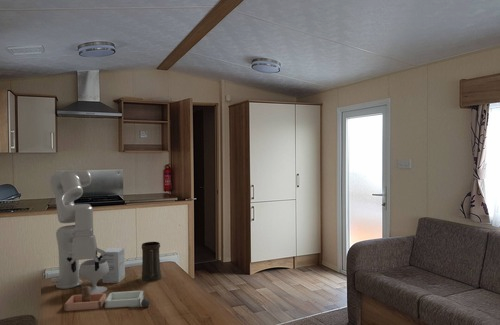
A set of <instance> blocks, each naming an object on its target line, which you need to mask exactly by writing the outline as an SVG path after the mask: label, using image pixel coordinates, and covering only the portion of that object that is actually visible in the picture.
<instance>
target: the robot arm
mask: <svg viewBox="0 0 500 325" xmlns="http://www.w3.org/2000/svg"><path fill="white" fill-rule="evenodd" d="M49 181H50V182H49V183H50V184H49V185H50V189H51V190H52V193H53V195H54V197H55V201H56V214H57V219H58V222H59V223H60V224H70V225H63V226H60V227H58V228H57V229H56V232H55V237H56V242H57V249H58V251H57V252H58V272H59V274H58V275H59V276H58V277H52V278H51V279H50V281H51V283H56V284H55V285H56V288H57V289H60V290H61V289H62V290H64V289H65V290H66V289H73V288H77V287H79V286H81V285H82V284H83V279H80V275H79V269H80V265H79V264H80V263H79V261H81V260H82V261H83V260H92V259H94V260H95V261H96V262H95V271H97V270H98V269H99V261H100V259H102V257H103V256H104V254H105V250H104V249H103V250H102V249H100V248H98V245H97V238H96V235H94V210H93V209H94V208H93V206H92V205H91V204H90V203H83V204H82V203H80V204H78V203H77V204H75V201H76V200H78V199H79V198H81V197H82V196H83V194H84V190H83V188H85V187H89V186H90V185H91V183H92V174H91V172H90V171H89V170H87V169H69V170H67V169H66V170H65V171H63V172H56V173H53V174H52V175H50V178H49ZM71 223H72V224H71ZM73 223H74V224H73ZM98 253H99V254H100V255H98Z"/></svg>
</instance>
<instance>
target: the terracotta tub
mask: <svg viewBox="0 0 500 325" xmlns="http://www.w3.org/2000/svg"><path fill="white" fill-rule="evenodd" d="M90 298H91V302H82V294H72V295H71V296H70V298H68V300H66V302H65V303H64V311H65V312H66V311H67V312H68V311H69V312H70V311H82V310H95V309H96V310H98V309H102V307H103V306H104V305H105V300H106V299H107V292H102V293H97V294H90Z"/></svg>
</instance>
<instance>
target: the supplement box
mask: <svg viewBox="0 0 500 325" xmlns="http://www.w3.org/2000/svg"><path fill="white" fill-rule="evenodd" d="M104 251H105V254H104V256H103V257H102V258H101V259H104V260H106V261H107V263H108V266H109V272H108V273H107V275H106V276H104V277H103V278H102V283H104V284H105V283H109V284H110V283H111V284H113V283H115V284H118V283H120V282H122V281H123V279H125V278H126V270H125V269H126V267H125V264H126V263H125V247H107V248H106V249H104Z"/></svg>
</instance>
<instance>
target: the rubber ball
mask: <svg viewBox="0 0 500 325" xmlns="http://www.w3.org/2000/svg"><path fill="white" fill-rule="evenodd" d="M150 304H151V301H150V299H148V298H143V300H142V302H141V306H142V307H143V308H146V307H149V305H150Z"/></svg>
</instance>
